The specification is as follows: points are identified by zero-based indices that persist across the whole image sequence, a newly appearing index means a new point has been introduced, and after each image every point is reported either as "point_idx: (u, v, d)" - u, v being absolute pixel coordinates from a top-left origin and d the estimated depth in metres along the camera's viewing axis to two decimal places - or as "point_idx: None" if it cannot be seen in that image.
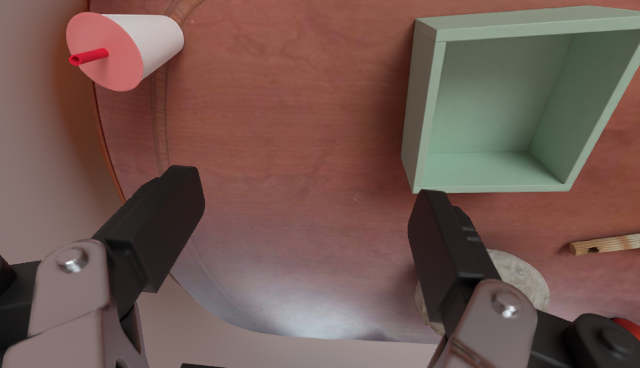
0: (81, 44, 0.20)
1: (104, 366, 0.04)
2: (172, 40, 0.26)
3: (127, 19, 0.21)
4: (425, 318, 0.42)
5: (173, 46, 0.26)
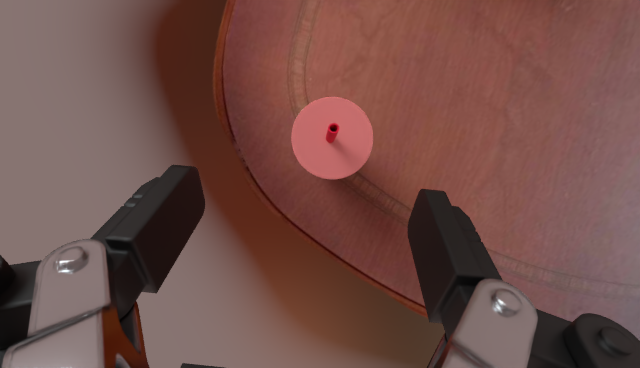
0: (316, 158, 0.18)
1: (103, 365, 0.04)
2: None
3: None
4: None
5: None
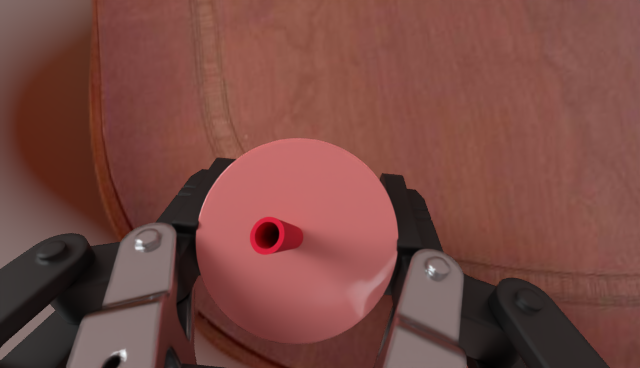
0: (279, 299, 0.07)
1: (156, 356, 0.04)
2: None
3: None
4: None
5: None
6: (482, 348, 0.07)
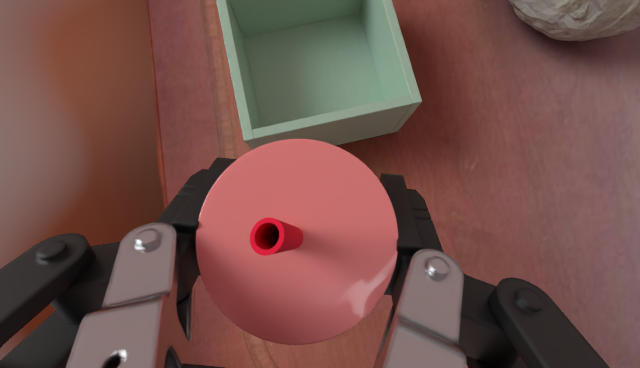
0: (279, 299, 0.07)
1: (155, 356, 0.04)
2: None
3: None
4: None
5: None
6: (482, 348, 0.07)
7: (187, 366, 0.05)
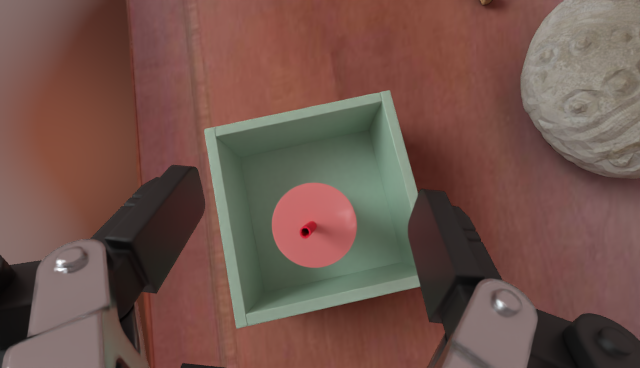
0: (308, 250, 0.18)
1: (104, 365, 0.04)
2: None
3: None
4: None
5: None
6: None
7: None
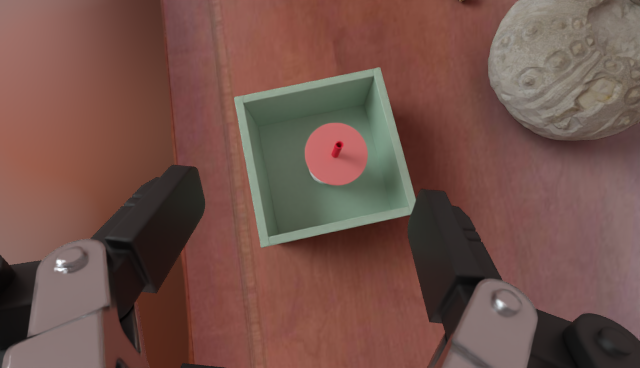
0: (332, 172, 0.24)
1: (104, 366, 0.04)
2: None
3: None
4: None
5: None
6: None
7: None
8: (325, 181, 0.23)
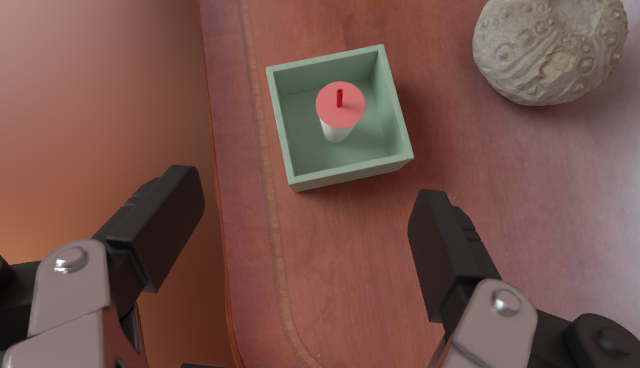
0: (337, 118, 0.30)
1: (104, 365, 0.04)
2: None
3: None
4: (597, 79, 0.34)
5: None
6: None
7: None
8: (332, 125, 0.30)
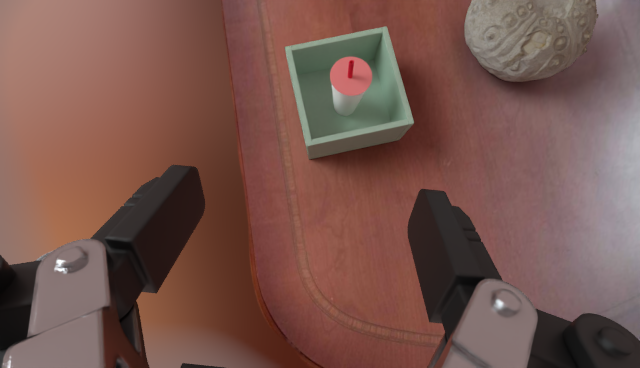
0: (348, 87, 0.36)
1: (104, 365, 0.04)
2: None
3: None
4: (571, 56, 0.39)
5: None
6: None
7: None
8: (344, 93, 0.35)
